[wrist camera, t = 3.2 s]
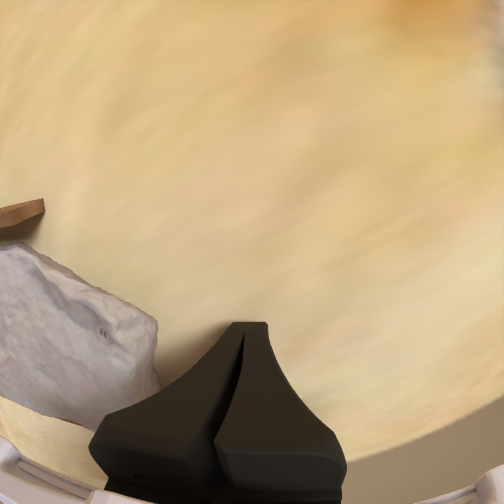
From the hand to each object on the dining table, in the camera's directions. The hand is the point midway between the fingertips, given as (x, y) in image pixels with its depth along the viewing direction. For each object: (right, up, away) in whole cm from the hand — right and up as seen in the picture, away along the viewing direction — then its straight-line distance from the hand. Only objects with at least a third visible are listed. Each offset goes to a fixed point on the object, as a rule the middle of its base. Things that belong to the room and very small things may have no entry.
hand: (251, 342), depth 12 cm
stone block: (-10, 0, +3) cm, 10 cm away
